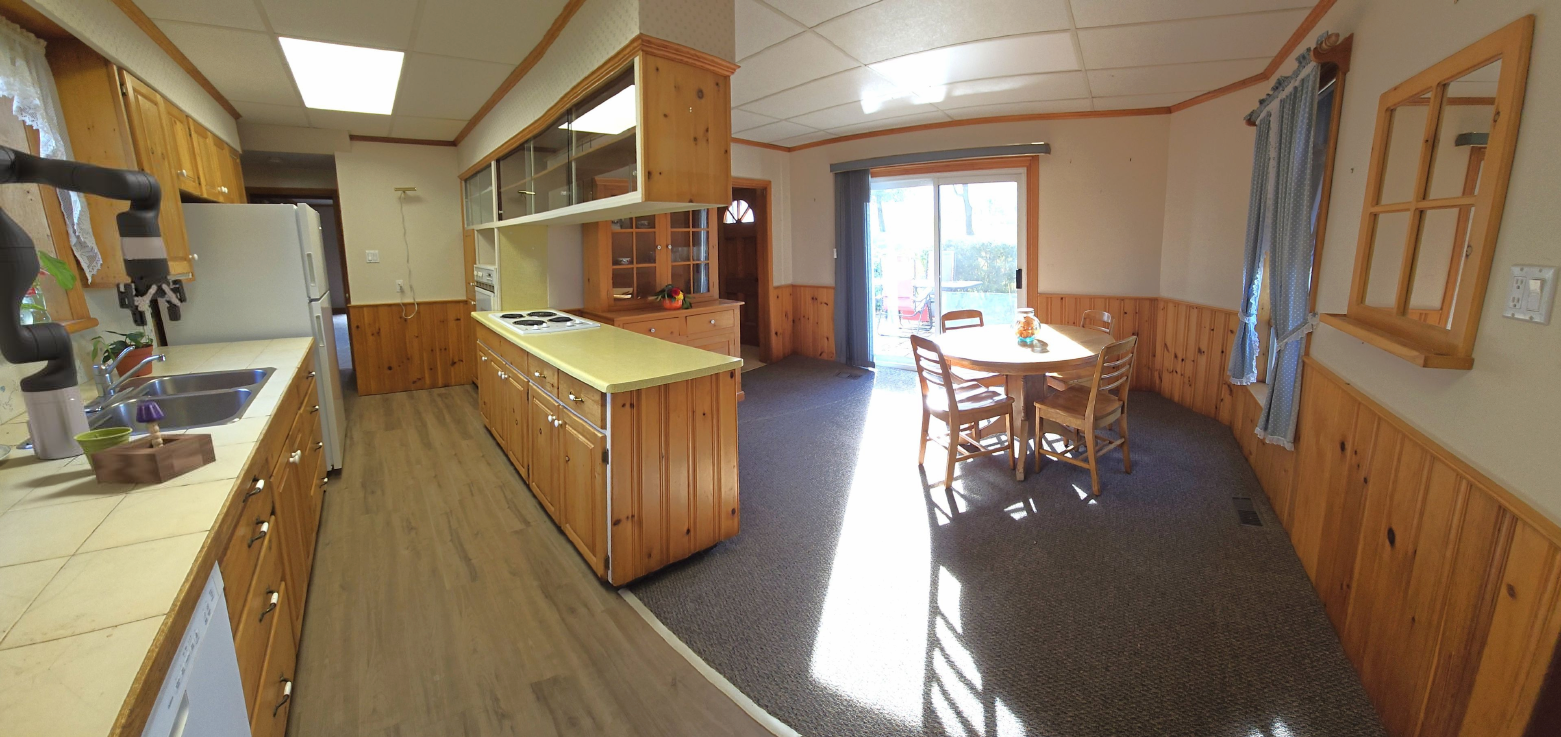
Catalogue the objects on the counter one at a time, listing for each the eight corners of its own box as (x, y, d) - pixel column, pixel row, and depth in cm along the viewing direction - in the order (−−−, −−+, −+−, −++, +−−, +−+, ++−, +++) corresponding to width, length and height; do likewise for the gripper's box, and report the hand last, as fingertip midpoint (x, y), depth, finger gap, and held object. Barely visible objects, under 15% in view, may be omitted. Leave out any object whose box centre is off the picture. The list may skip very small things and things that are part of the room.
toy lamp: (158, 475, 142) (142, 406, 139) (142, 474, 143) (126, 405, 140) (182, 468, 147) (167, 400, 143) (166, 466, 148) (151, 399, 144)
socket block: (97, 483, 138) (90, 454, 136) (157, 461, 151) (151, 434, 150) (161, 483, 138) (155, 453, 136) (216, 460, 152) (210, 433, 150)
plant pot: (129, 458, 153) (121, 425, 151) (147, 464, 149) (139, 430, 147) (75, 471, 145) (66, 436, 143) (93, 477, 141) (83, 441, 139)
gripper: (157, 255, 154) (170, 319, 158) (97, 257, 141) (113, 327, 144) (188, 255, 155) (200, 319, 158) (130, 258, 141) (145, 328, 144)
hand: (158, 323), depth 151 cm, fingers open, 8 cm apart
